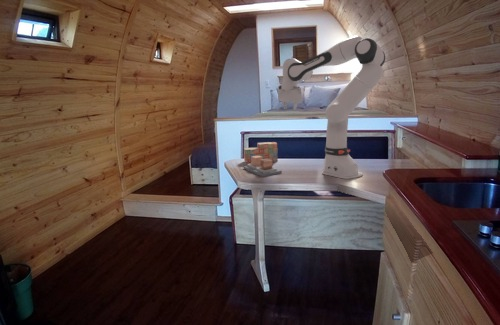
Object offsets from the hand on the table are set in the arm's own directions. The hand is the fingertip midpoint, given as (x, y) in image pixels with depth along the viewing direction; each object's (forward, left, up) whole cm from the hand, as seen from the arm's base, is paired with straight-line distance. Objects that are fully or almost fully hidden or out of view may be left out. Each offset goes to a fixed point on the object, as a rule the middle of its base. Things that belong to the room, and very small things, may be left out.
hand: (290, 109), depth 196 cm
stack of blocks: (+12, +15, -34) cm, 39 cm away
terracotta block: (-14, +26, -32) cm, 44 cm away
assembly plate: (-8, +27, -34) cm, 44 cm away
